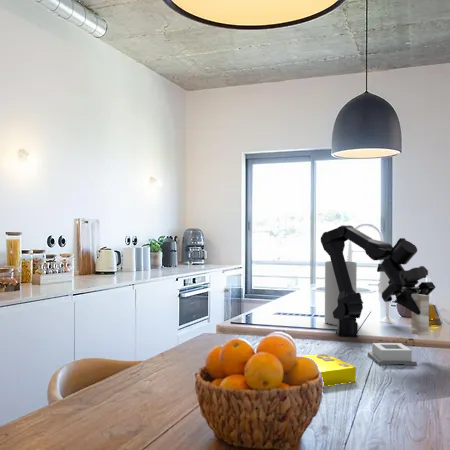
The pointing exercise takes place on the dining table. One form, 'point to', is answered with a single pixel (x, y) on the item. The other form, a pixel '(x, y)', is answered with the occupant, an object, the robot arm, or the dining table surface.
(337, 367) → the element tile
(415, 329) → the beige cylinder
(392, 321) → the champagne flute
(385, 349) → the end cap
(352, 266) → the cylinder vase
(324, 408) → the dining table surface
